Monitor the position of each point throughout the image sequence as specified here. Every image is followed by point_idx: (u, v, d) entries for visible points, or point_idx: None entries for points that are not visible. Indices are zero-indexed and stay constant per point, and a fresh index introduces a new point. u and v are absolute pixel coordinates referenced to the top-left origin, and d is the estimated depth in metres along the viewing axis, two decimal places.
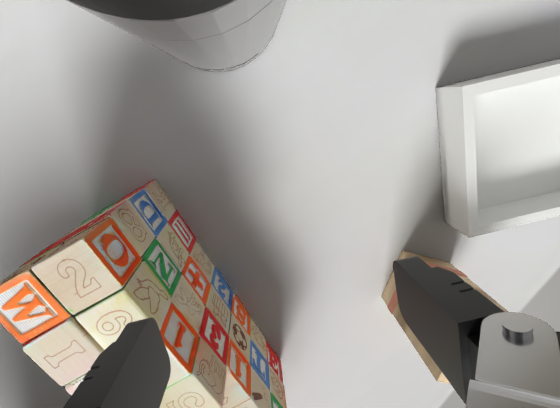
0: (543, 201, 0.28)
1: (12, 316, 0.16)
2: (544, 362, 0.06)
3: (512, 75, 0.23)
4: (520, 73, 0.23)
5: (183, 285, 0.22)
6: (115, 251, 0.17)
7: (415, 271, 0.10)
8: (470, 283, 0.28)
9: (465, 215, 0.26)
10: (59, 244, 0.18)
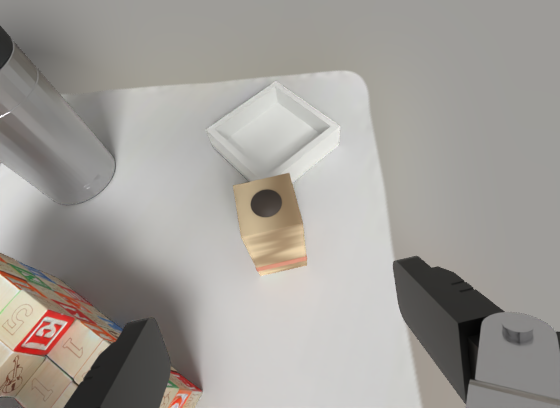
0: None
1: None
2: (544, 362, 0.06)
3: (228, 114, 0.42)
4: (232, 111, 0.43)
5: (50, 291, 0.29)
6: None
7: (415, 271, 0.10)
8: None
9: (255, 176, 0.37)
10: None
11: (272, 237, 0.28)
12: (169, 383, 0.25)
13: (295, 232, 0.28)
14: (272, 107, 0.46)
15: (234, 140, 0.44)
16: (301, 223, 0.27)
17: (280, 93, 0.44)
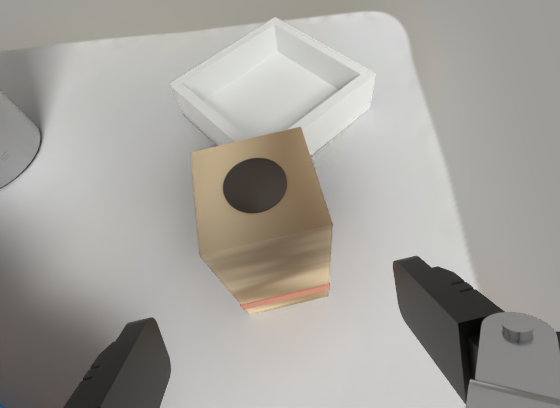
0: None
1: None
2: (544, 362, 0.06)
3: (204, 62, 0.28)
4: (210, 59, 0.28)
5: None
6: None
7: (415, 271, 0.10)
8: None
9: None
10: None
11: (266, 254, 0.13)
12: None
13: (314, 243, 0.13)
14: (270, 58, 0.32)
15: (213, 103, 0.29)
16: (329, 225, 0.12)
17: (281, 34, 0.30)
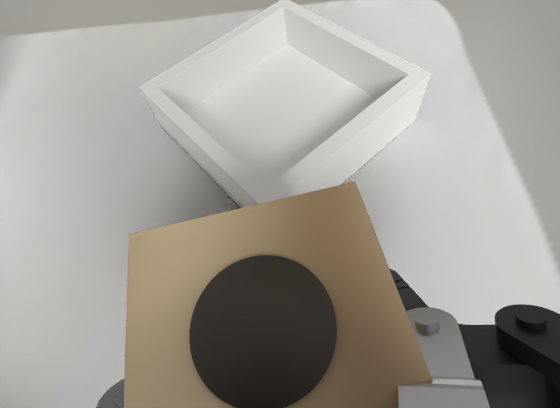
0: None
1: None
2: (439, 351, 0.06)
3: (189, 57, 0.21)
4: (196, 53, 0.21)
5: None
6: None
7: None
8: None
9: (240, 188, 0.16)
10: None
11: None
12: None
13: None
14: (277, 53, 0.24)
15: (201, 112, 0.22)
16: None
17: (293, 20, 0.22)
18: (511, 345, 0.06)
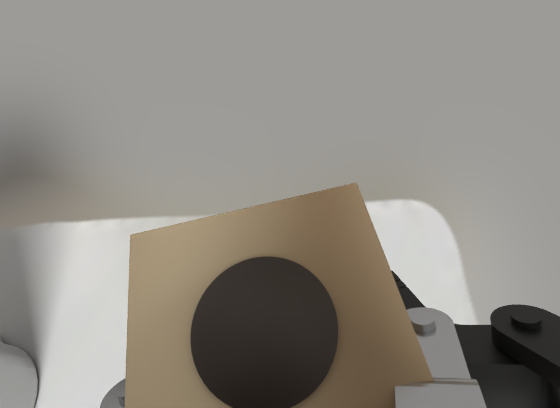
0: None
1: None
2: (435, 350, 0.06)
3: None
4: None
5: None
6: None
7: None
8: None
9: None
10: None
11: None
12: None
13: None
14: None
15: None
16: None
17: None
18: (507, 345, 0.07)
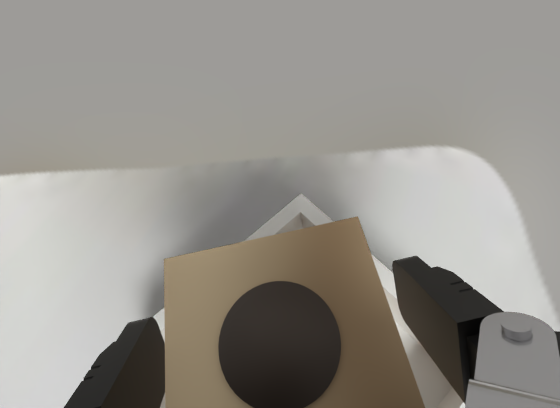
0: None
1: None
2: (543, 362, 0.06)
3: None
4: None
5: None
6: None
7: (415, 271, 0.10)
8: None
9: None
10: None
11: None
12: None
13: None
14: None
15: None
16: None
17: None
18: None
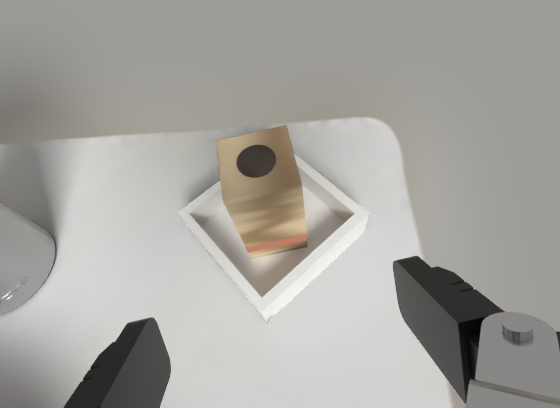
0: None
1: None
2: (544, 362, 0.06)
3: (210, 188, 0.30)
4: (215, 185, 0.30)
5: None
6: None
7: (415, 271, 0.10)
8: None
9: (245, 295, 0.25)
10: None
11: (263, 203, 0.22)
12: None
13: (292, 197, 0.22)
14: None
15: (217, 222, 0.32)
16: (300, 184, 0.21)
17: None
18: None
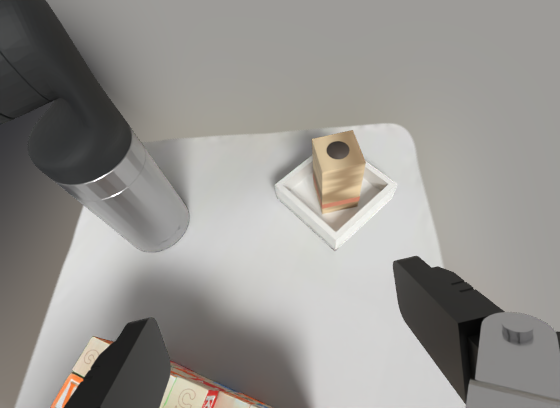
0: None
1: None
2: (544, 362, 0.06)
3: (293, 170, 0.47)
4: (296, 167, 0.47)
5: (174, 368, 0.33)
6: None
7: (415, 271, 0.10)
8: None
9: (325, 231, 0.42)
10: None
11: (342, 174, 0.39)
12: None
13: (358, 170, 0.39)
14: None
15: (296, 192, 0.48)
16: (364, 163, 0.38)
17: None
18: None
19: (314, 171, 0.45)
